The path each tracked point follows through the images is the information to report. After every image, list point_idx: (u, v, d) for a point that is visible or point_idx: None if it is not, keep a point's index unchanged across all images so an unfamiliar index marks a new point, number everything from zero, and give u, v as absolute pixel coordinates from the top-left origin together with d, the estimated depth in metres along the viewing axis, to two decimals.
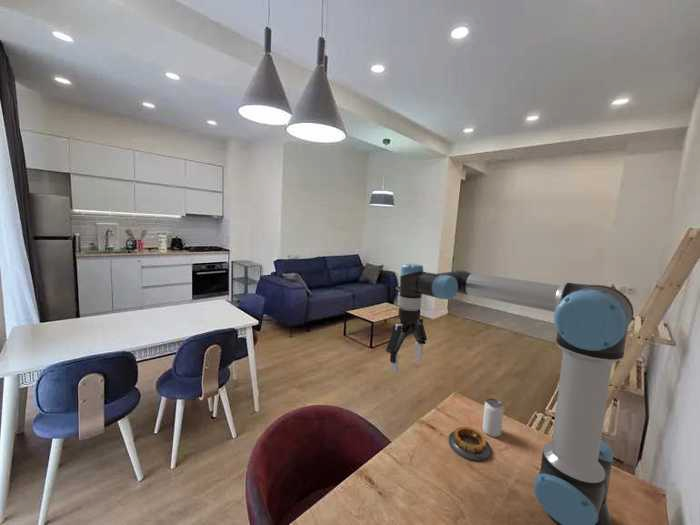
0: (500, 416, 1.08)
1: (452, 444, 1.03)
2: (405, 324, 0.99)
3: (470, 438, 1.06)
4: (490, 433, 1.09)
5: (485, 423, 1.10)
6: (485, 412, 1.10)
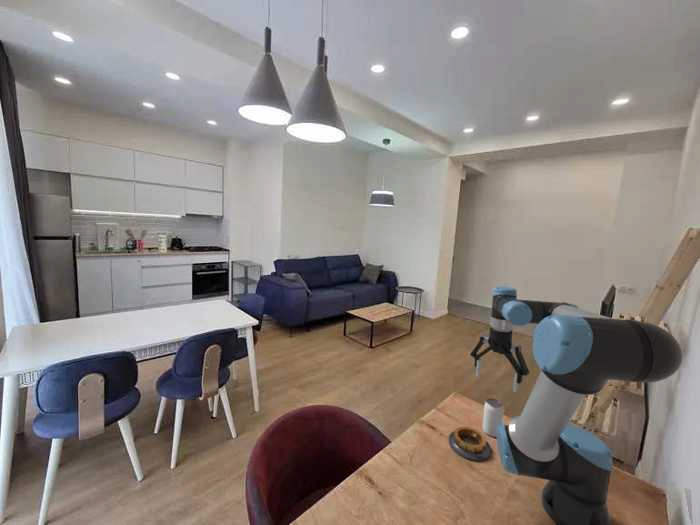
0: (500, 416, 1.08)
1: (452, 444, 1.03)
2: (489, 339, 1.09)
3: (470, 438, 1.06)
4: (490, 433, 1.09)
5: (485, 423, 1.10)
6: (485, 412, 1.10)
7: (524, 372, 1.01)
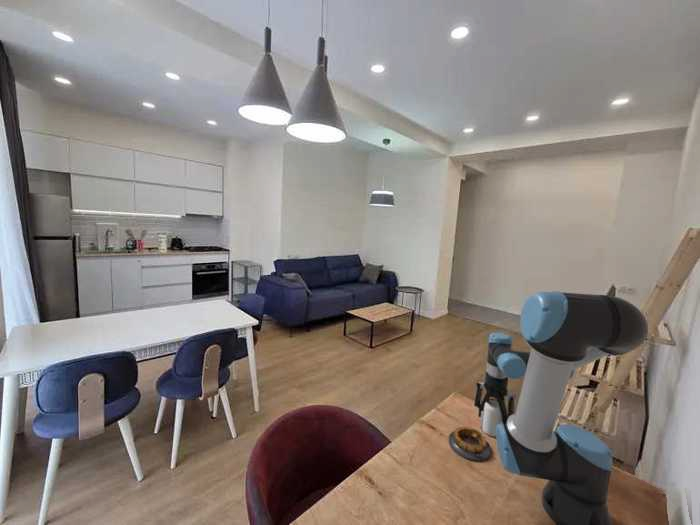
0: (500, 416, 1.08)
1: (452, 444, 1.03)
2: (485, 384, 1.11)
3: (470, 438, 1.06)
4: (490, 433, 1.09)
5: (485, 423, 1.10)
6: (485, 412, 1.10)
7: None
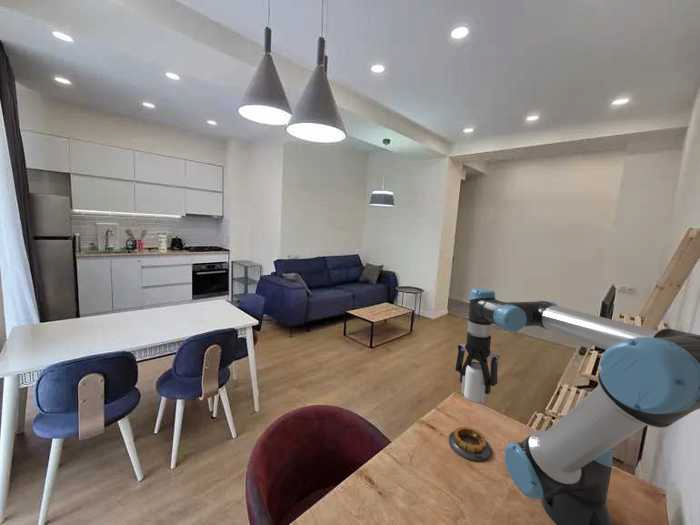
0: (482, 379, 0.98)
1: (452, 444, 1.03)
2: (466, 345, 1.02)
3: (470, 438, 1.06)
4: (471, 398, 0.99)
5: (466, 388, 1.01)
6: (466, 376, 1.01)
7: (492, 382, 0.95)
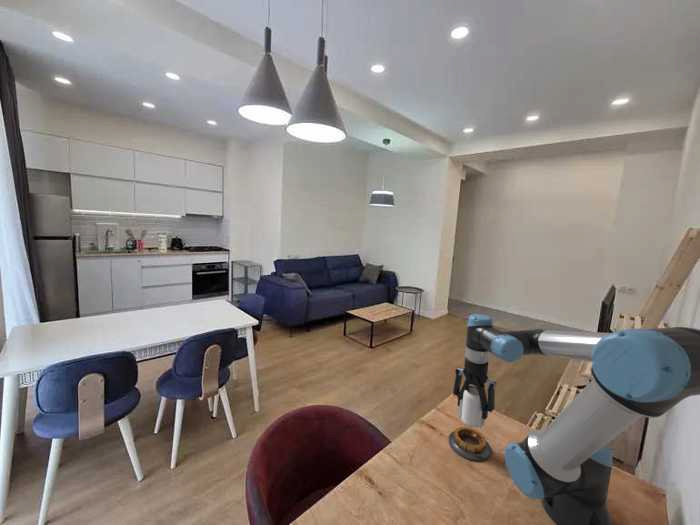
0: (480, 404, 0.99)
1: (452, 444, 1.03)
2: (464, 370, 1.03)
3: (470, 438, 1.06)
4: (469, 423, 1.00)
5: (464, 412, 1.02)
6: (464, 400, 1.02)
7: (489, 408, 0.96)
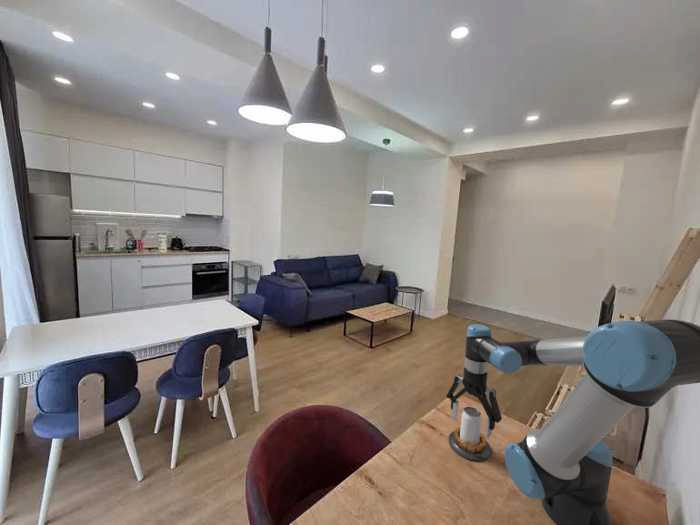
0: (478, 426, 1.00)
1: (452, 444, 1.03)
2: (464, 380, 1.03)
3: None
4: None
5: (462, 433, 1.03)
6: (462, 421, 1.03)
7: (496, 419, 0.95)
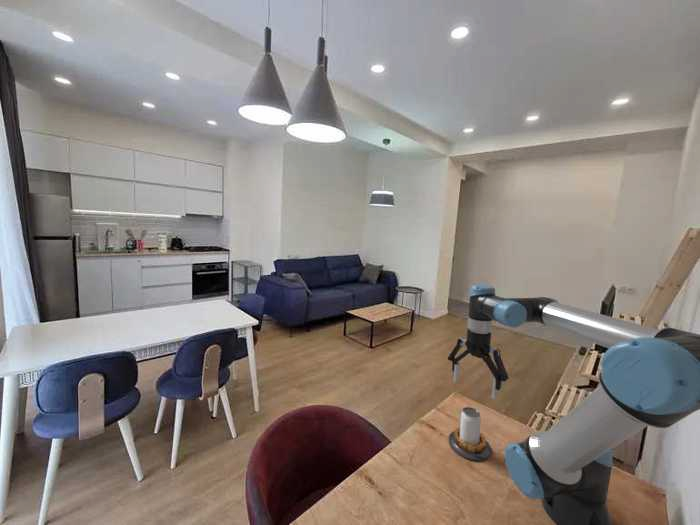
0: (477, 427, 1.00)
1: (452, 444, 1.03)
2: (467, 342, 1.01)
3: None
4: None
5: (461, 434, 1.03)
6: (461, 422, 1.03)
7: (503, 378, 0.93)
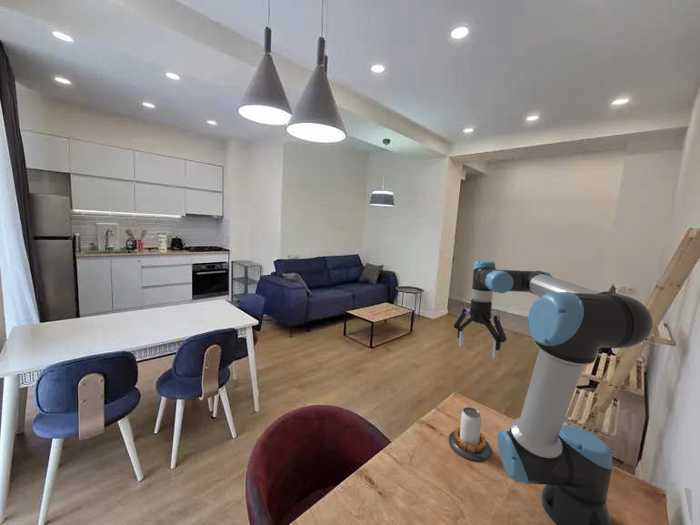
0: (477, 427, 1.00)
1: (452, 444, 1.03)
2: (471, 310, 1.16)
3: None
4: None
5: (461, 434, 1.03)
6: (462, 422, 1.03)
7: (502, 339, 1.08)
